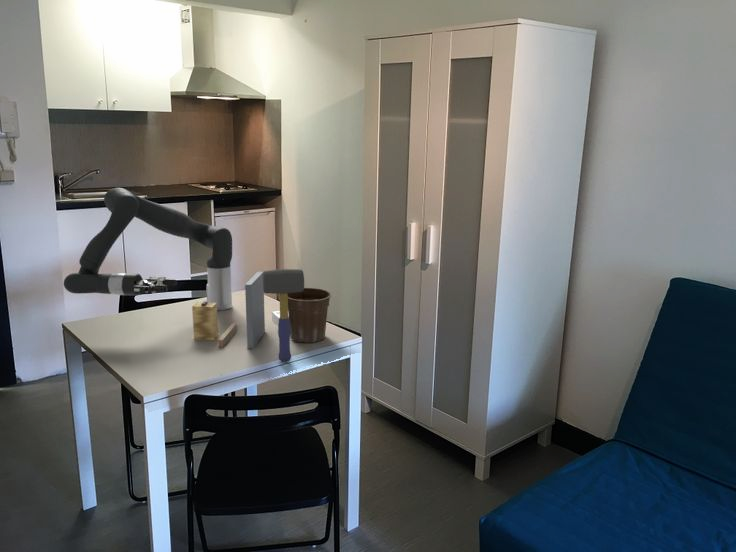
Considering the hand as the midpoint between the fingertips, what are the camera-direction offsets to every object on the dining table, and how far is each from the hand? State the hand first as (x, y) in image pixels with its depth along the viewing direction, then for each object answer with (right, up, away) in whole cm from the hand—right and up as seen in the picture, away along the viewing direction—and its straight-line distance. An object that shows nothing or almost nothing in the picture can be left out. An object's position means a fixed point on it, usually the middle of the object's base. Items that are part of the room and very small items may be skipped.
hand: (171, 285), depth 207 cm
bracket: (+37, -15, +20) cm, 45 cm away
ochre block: (+11, -18, +4) cm, 22 cm away
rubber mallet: (+41, -24, -17) cm, 51 cm away
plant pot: (+47, -19, +5) cm, 50 cm away
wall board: (+24, -19, +3) cm, 30 cm away
